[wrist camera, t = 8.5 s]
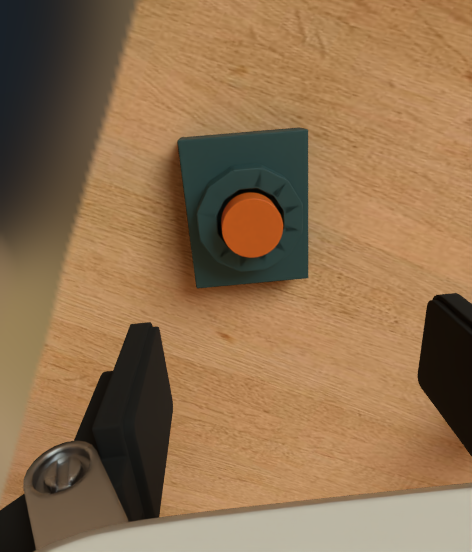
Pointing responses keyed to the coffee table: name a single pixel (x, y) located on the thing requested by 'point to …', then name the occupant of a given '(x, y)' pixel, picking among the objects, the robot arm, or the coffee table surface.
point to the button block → (237, 180)
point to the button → (251, 225)
